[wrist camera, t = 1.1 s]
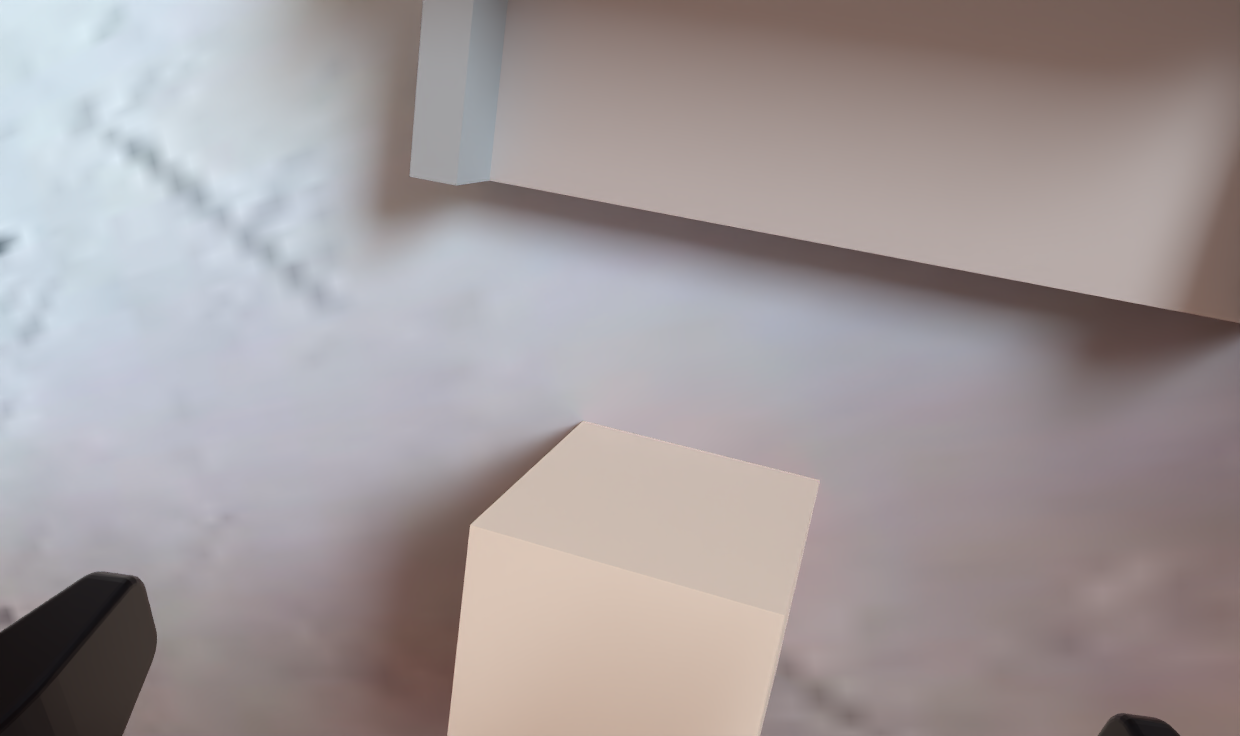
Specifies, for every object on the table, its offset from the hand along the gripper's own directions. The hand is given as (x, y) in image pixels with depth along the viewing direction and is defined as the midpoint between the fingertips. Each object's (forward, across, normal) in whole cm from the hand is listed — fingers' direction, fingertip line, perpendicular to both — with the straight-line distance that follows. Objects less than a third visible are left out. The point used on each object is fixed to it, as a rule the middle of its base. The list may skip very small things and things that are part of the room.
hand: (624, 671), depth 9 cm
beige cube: (+10, -2, +8) cm, 13 cm away
